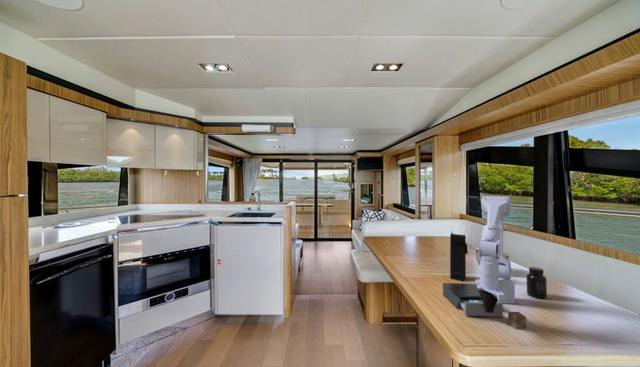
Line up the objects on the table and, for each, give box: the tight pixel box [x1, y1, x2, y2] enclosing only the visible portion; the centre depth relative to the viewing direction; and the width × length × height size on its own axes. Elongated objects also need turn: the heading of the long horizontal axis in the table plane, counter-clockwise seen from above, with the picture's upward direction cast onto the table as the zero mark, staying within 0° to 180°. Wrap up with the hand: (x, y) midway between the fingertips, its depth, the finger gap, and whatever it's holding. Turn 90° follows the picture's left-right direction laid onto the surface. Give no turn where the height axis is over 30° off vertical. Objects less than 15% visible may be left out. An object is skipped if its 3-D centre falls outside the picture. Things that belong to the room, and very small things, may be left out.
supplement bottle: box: [526, 266, 548, 300], centre depth 115 cm, size 7×7×12 cm
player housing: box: [442, 282, 482, 310], centre depth 109 cm, size 14×13×5 cm
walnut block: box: [507, 311, 527, 330], centre depth 90 cm, size 4×4×4 cm
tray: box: [459, 297, 504, 318], centre depth 102 cm, size 13×13×5 cm
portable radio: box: [449, 232, 469, 282], centre depth 137 cm, size 8×6×25 cm
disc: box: [469, 298, 483, 302], centre depth 101 cm, size 6×6×2 cm
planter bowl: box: [474, 248, 510, 267], centre depth 148 cm, size 16×16×11 cm
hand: (489, 312), depth 95 cm, fingers closed
